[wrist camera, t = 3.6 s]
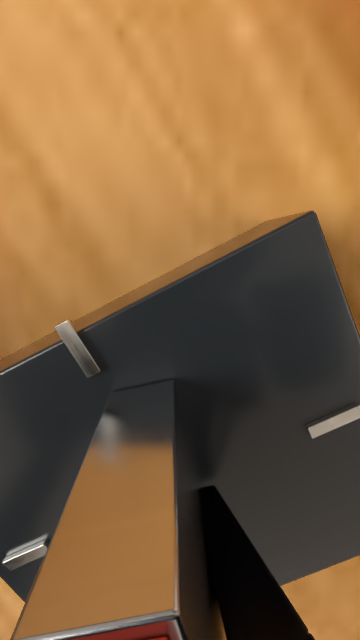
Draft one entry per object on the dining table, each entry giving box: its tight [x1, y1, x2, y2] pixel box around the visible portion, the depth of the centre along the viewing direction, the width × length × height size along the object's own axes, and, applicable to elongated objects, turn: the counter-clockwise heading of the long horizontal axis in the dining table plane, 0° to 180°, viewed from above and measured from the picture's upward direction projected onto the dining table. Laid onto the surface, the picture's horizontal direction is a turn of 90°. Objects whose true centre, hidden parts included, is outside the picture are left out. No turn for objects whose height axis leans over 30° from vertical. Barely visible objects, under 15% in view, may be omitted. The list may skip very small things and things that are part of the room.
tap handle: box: [10, 380, 226, 640], centre depth 5 cm, size 6×2×5 cm, turn 13°
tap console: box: [0, 211, 360, 602], centre depth 9 cm, size 12×11×3 cm
